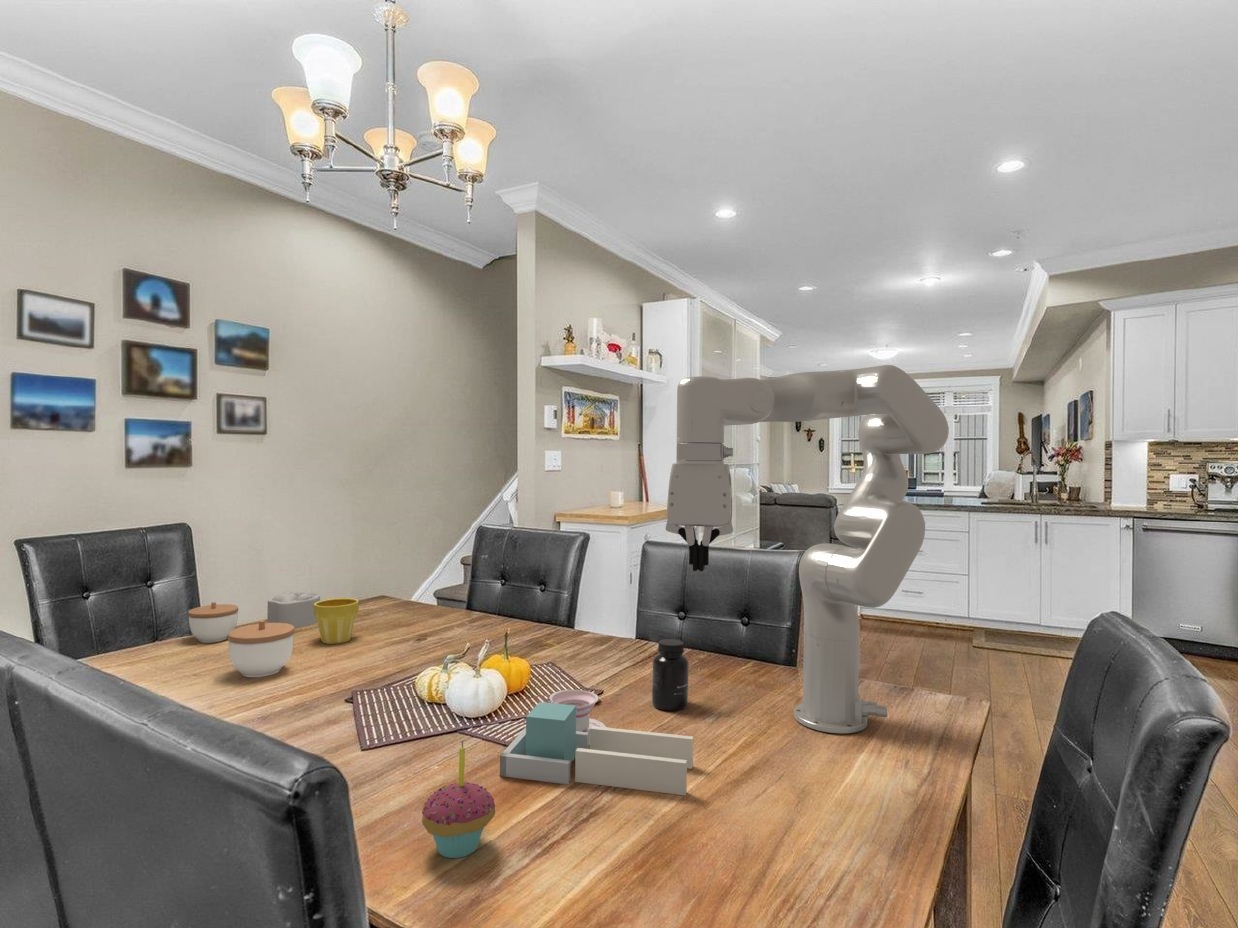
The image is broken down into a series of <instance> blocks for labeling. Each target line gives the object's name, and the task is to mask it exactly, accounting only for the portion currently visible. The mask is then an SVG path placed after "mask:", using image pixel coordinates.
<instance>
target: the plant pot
mask: <svg viewBox="0 0 1238 928" xmlns="http://www.w3.org/2000/svg"><path fill="white" fill-rule="evenodd" d="M359 605H360V603H359V599H357V598H351V597H342V598H341V597H338V598H337V597H336V598H329V599H328V598H327V599H324V600H320V601H318V602H316V603H314V617H315V618H316V619H317V622H318V623H317V626H318V630H319V635H320V638H321V639H320V640H321V642H322V643H323V644H326V645H336V644H343V643H347V642H349V641H351V638H352V633H353V630H354V625H355V620H356V616H357V615H358V614H359V610H360V609H359V608H360V607H359Z"/></svg>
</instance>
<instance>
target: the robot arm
mask: <svg viewBox="0 0 1238 928" xmlns="http://www.w3.org/2000/svg"><path fill="white" fill-rule="evenodd" d="M860 416H864V417H863V418H862V419H861V421H860V424H859V426H858V429H857V434H858V436H857V437H858V442H859V446H860V448H861V449H860V450H861V452H862V453H861V454H862V458H863V459H862V460H863V469H862V473H861V475H860V476H859V477H860V478H859V480H858V481H857V483H856V484H855V486H854V488H853V490H852V491H851V492H850V494H849V496H848V497H847V499H846V500H845V502H844V504H843V505H842V507H841V508H840V510H839V512H838V514H837V516H836V519H835V522H834V526H833V529H834V534H835V536H836V538H837V539H838V540H839V541H840V542H841V543H843V544H844V545H842V544H836V543H829V542H828V543H823V542H822V543H818V544H815V545H812V546H810V547H808V549H806V550H805V551H804V552H803V555H801V557H800V560H799V564H798V565H799V566H798V578H799V584H800V589H801V595H802V601H803V602H802V604H803V656H802V657H803V658H802V659H803V664H802V665H803V666H802V667H803V668H802V669H803V671H802V672H803V673H802V674H803V675H802V677H803V678H802V702H800V703H799V704H797V705H796V706H794V708H793V717H794V719H795V720H796V721H797V722H799V724H801V725H802V726H804V727H807V728H809V729H812V730H816V731H819V732H824V733H830V734H842V735H843V734H854V733H858V732H861V731H863V730H864V729H866V728H867V726H868V721H869V719H868V717H869V716H871V717H872V716H874V717H879V718H887V717H888V706H887V705H882V704H881V705H879V704H878V702H877V701H874V700H872V701H871V700H867V701H866V700H864V699H863V698H861V695H860V693H859V690H860V689H859V688H860V687H859V686H860V684H859V682H860V681H859V679H860V635H861V634H860V629H861V628H860V620H859V614H858V612H857V609H856V606H858V607H864V608H869V609H871V608H872V609H875V608H879V607H882V606H884V605H885V604H887V603H888V602H889V601H890V600H891V599H892V597H893V596H895V593H896V592H897V590H898V589H899V587H900V585H901V583H902V581H903V580H904V578H905V577H906V574H907V573H908V571H909V569H910V568H911V566H912V564H913V562H914V561H915V559H916V557H917V556H918V554H919V552H920V550H921V548H922V546H923V543H924V539H925V536H926V522H925V521H926V520H925V518H924V515H923V512H922V511H921V510H920V509H919V508H918V507H917V506H916V505H915V504H913V503H911V502H909V501H906V500H904V499H905V497H906V495H907V492H908V490H909V489H908V488H909V478H908V474H907V472H906V469H905V468H904V464H903V462H902V458H901V456H900V455H928V454H932V453H936V452H937V451H939V450H941V449H942V448H943V447H944V445H945V444H946V443H947V441H948V438H949V428H950V427H949V422H948V421H947V418H946V416H945V414H944V412H943V411H942V409H941V408H940V407H939V405H937V404H936V402H934V400H933V399H932V398H931V397H930V395H928V393H926V391H925V390H924V389H923V387H921V386H920V385H919V384H918V382H916V381H915V379H914V378H912V377H911V375H909V374H908V373H907V372H906V371H905V370H903V369H902V368H899V367H898V366H895V365H893V364H892V365H891V364H883V365H882V364H881V365H876V366H869V367H863V368H852V369H851V368H850V369H842V370H841V369H839V370H825V371H824V370H823V371H805V372H804V371H803V372H796V373H790V374H784V375H779V376H777V377H770V378H764V379H759V378H755V377H740V378H728V379H726V378H725V379H724V378H721V379H720V378H719V377H715V376H714V377H713V376H702V375H701V376H689V377H688V376H687V377H685V378H682V379H680V380H679V381H678V384H677V389H676V458H675V459H676V463H675V462H674V463H672V464H671V470H670V475H669V481H668V490H667V492H668V493H667V501H666V502H667V505H666V518H667V521H666V524H665V531H666V532H669V533H672V534H676V535H679V536H680V537H681V538H682V539H683V540H684V541H685V542H686V543H687V545H688V564H689V565H690V566H691V565H692V572H697V571H699V572H704V570H705V566H709V562H710V561H709V557H710V556H709V555H710V544H711V543H712V542H713V541H714V540H716V538H718V537H720V536H724V535H731V534H733V532H734V526H733V521H732V519H733V494H732V493H733V491H732V490H733V489H732V478H731V477H732V476H731V469H730V466H729V465H730V464H729V463H724V462H725V459H726V458H728V457H734V448H733V447H728V446H726V445H725V444H724V443H725V427H726V426H742V425H743V426H745V425H753V424H757V423H768V422H771V423H772V422H775V423H777V422H779V423H781V422H783V423H797V422H798V423H799V422H809V421H810V422H811V421H820V420H828V419H829V420H830V419H839V418H840V419H841V418H850V417H860ZM696 527H703V528H704V529H703V532H702V538H701V539H702V540H701V541H700V543H699V541H698V539H697V534H696Z"/></svg>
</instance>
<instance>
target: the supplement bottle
mask: <svg viewBox="0 0 1238 928" xmlns="http://www.w3.org/2000/svg"><path fill="white" fill-rule="evenodd" d="M684 645H685V644H684V642H683V641H682V640H680V639H674V638H672V639H671V638H664V639H660V640H659V641H658V645H657V646H658V648H657V653H658V654H657V655H655V656H654V657H653V660H652V679H651V680H652V681H651V682H652V683H651V685H652V686H651V687H652V688H651V690H652V691H651V702H652V705H653V707H655V709H658V710H661V711H667V712H678V711H682V710H684V709H686V708H687V707H688V703H689V672H690V671H689V667H690V664H689V659H688V658H687V657H686V656H685V655H683V654H684V653H685V648H684V647H685V646H684Z"/></svg>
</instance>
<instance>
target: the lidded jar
mask: <svg viewBox="0 0 1238 928" xmlns="http://www.w3.org/2000/svg"><path fill="white" fill-rule="evenodd" d="M238 614H239V606H238V605H236V604H229V603H223V604H217V602H216V601H213V602H211V604H210V605H209V604H208V605H203V606H198V607H194V608H192V609H190V610H188V613H187V615H188V626H189V629H190V633H191V635H192V636H193V637H194V638H196V639H197V640H198V641H199V642H200V643H201V644H208V643H209V644H210V643H211V644H213V643H219V642H223V641H226V640H228V633H229V632H230V631H232V630H234V629H236V627H237V623H238V617H239V616H238Z"/></svg>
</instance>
